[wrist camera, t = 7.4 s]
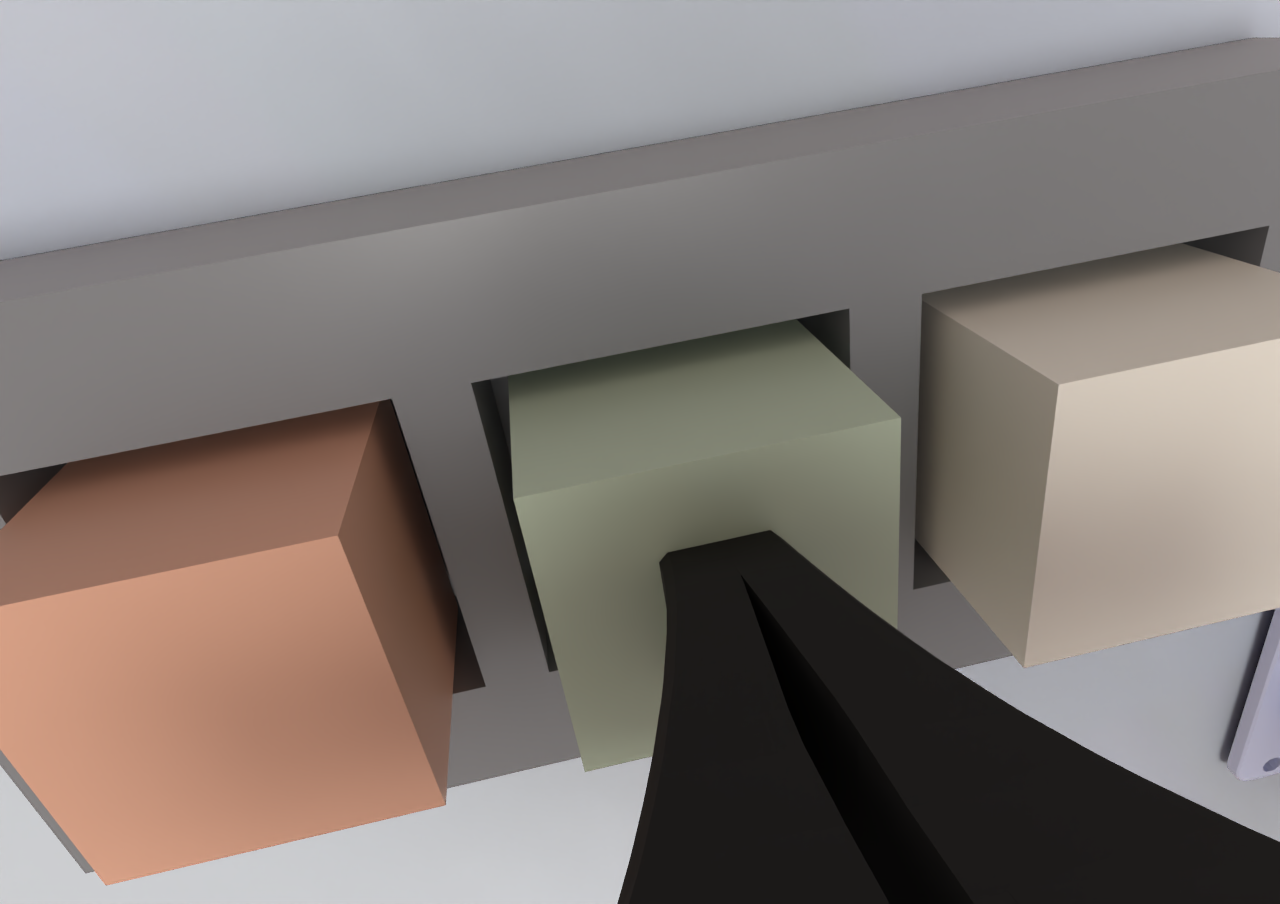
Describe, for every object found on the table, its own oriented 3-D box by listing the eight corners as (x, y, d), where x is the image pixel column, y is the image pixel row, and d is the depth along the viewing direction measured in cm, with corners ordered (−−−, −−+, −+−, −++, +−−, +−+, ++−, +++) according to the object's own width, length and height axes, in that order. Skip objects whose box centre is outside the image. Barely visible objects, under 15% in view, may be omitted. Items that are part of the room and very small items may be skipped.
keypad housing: (1253, 37, 13) (1452, 38, 10) (1156, 507, 17) (1278, 592, 14) (-127, 283, 11) (-319, 360, 8) (154, 730, 15) (85, 873, 13)
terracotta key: (385, 383, 12) (338, 535, 8) (458, 607, 14) (446, 805, 10) (88, 442, 11) (-96, 626, 8) (208, 661, 13) (105, 885, 10)
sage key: (782, 306, 12) (900, 417, 8) (795, 532, 14) (895, 698, 10) (507, 359, 12) (513, 499, 8) (561, 584, 14) (584, 772, 10)
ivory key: (1150, 233, 12) (1408, 311, 9) (1112, 464, 14) (1310, 600, 11) (895, 283, 12) (1059, 384, 9) (892, 511, 14) (1023, 668, 11)
